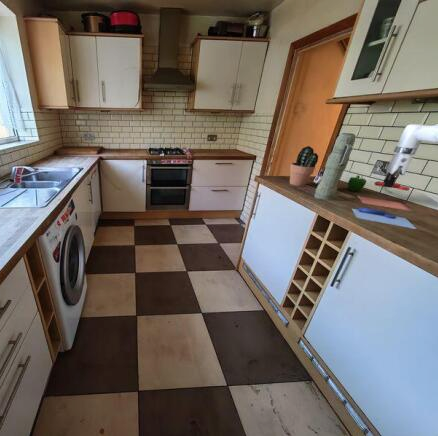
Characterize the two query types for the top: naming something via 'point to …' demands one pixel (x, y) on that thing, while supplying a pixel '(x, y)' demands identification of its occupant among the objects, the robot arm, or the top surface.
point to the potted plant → (303, 166)
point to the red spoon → (392, 186)
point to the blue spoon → (377, 212)
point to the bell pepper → (356, 183)
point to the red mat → (384, 203)
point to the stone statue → (335, 166)
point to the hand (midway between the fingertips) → (386, 186)
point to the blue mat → (383, 219)
